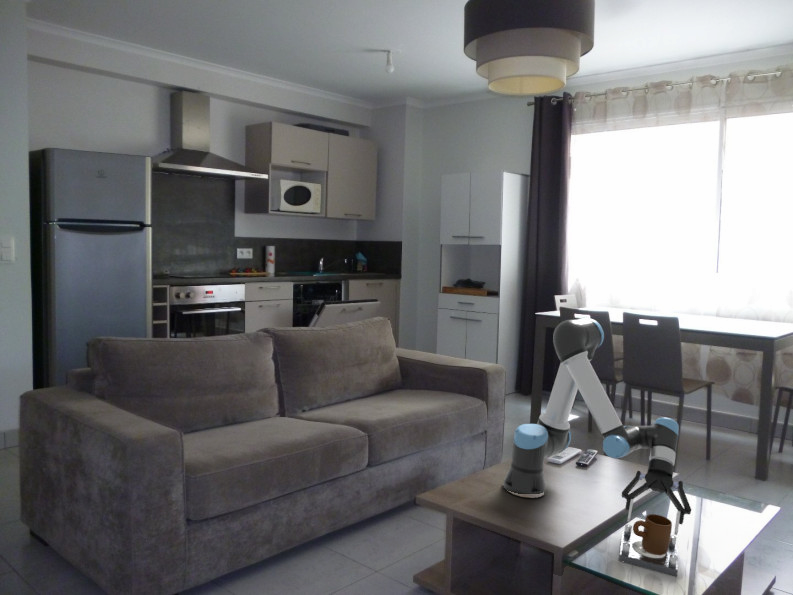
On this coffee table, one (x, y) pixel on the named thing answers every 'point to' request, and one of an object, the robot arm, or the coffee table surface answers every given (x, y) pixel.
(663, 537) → the mug
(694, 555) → the coffee table surface
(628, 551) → the chassis
